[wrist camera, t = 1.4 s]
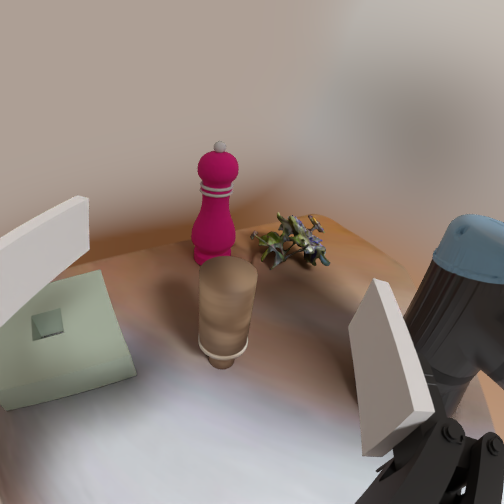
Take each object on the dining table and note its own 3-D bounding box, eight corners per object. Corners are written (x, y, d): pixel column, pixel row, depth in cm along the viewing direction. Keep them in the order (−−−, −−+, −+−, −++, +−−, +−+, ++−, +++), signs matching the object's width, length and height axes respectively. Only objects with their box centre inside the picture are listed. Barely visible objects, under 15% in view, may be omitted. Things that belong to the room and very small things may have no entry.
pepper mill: (182, 256, 50) (184, 139, 39) (212, 242, 55) (220, 134, 44) (211, 276, 46) (220, 149, 35) (241, 259, 51) (256, 144, 40)
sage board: (105, 290, 40) (100, 269, 38) (137, 375, 29) (130, 354, 27) (3, 318, 30) (-7, 298, 28) (6, 410, 20) (-11, 392, 18)
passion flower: (299, 284, 56) (347, 258, 47) (256, 295, 49) (306, 266, 40) (278, 232, 59) (320, 200, 51) (235, 234, 52) (276, 197, 44)
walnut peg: (229, 336, 36) (238, 250, 29) (253, 366, 33) (270, 281, 26) (191, 351, 34) (188, 263, 27) (212, 384, 30) (216, 300, 23)
